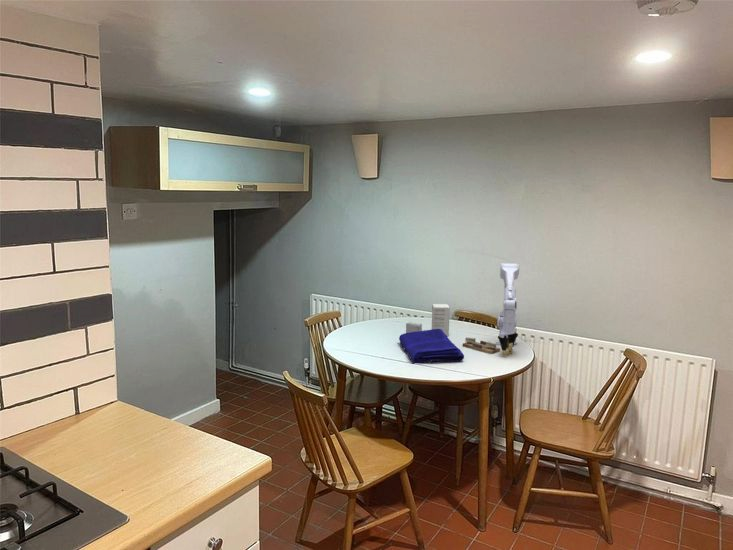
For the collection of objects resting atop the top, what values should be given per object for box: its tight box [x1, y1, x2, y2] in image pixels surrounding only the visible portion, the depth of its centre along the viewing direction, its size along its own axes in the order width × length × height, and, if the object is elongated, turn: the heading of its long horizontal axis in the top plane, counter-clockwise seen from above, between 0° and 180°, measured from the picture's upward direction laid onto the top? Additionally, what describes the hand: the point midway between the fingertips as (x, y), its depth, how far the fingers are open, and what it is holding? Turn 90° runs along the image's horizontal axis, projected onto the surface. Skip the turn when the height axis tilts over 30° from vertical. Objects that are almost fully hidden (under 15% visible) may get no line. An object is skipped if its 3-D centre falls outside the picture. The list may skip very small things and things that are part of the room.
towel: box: [398, 328, 465, 364], centre depth 277 cm, size 26×36×9 cm
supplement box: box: [431, 303, 451, 337], centre depth 309 cm, size 10×9×17 cm
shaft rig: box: [462, 336, 501, 355], centre depth 283 cm, size 8×18×4 cm, turn 43°
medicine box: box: [405, 321, 423, 333], centre depth 301 cm, size 8×4×9 cm, turn 59°
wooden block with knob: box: [501, 342, 514, 356], centre depth 275 cm, size 4×4×6 cm
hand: (507, 348), depth 275 cm, fingers open, 7 cm apart
